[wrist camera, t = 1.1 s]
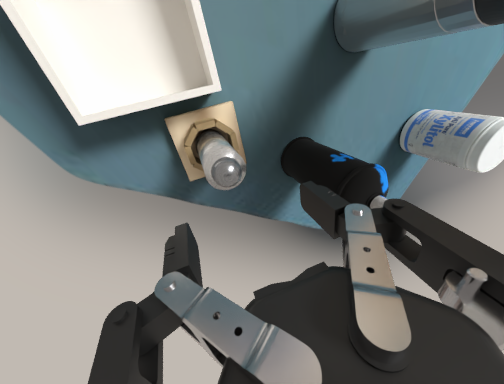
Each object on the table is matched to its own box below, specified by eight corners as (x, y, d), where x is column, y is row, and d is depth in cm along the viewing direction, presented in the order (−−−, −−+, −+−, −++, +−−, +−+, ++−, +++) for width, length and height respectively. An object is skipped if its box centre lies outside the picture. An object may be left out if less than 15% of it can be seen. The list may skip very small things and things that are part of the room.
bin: (168, -79, 21) (165, -133, 16) (213, 89, 29) (221, 90, 24) (-9, -64, 18) (-83, -124, 13) (97, 118, 26) (78, 125, 21)
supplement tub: (409, 107, 42) (505, 115, 30) (437, 110, 45) (534, 119, 33) (390, 151, 46) (467, 174, 34) (417, 151, 50) (497, 173, 37)
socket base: (230, 101, 30) (237, 103, 26) (244, 160, 35) (252, 169, 32) (165, 118, 28) (163, 122, 25) (189, 177, 34) (191, 189, 30)
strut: (220, 124, 30) (247, 148, 18) (227, 153, 32) (256, 190, 21) (190, 133, 29) (199, 163, 18) (200, 161, 32) (214, 204, 20)
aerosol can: (299, 183, 42) (380, 247, 25) (272, 164, 38) (348, 226, 21) (324, 151, 40) (429, 197, 24) (299, 127, 36) (405, 163, 19)
